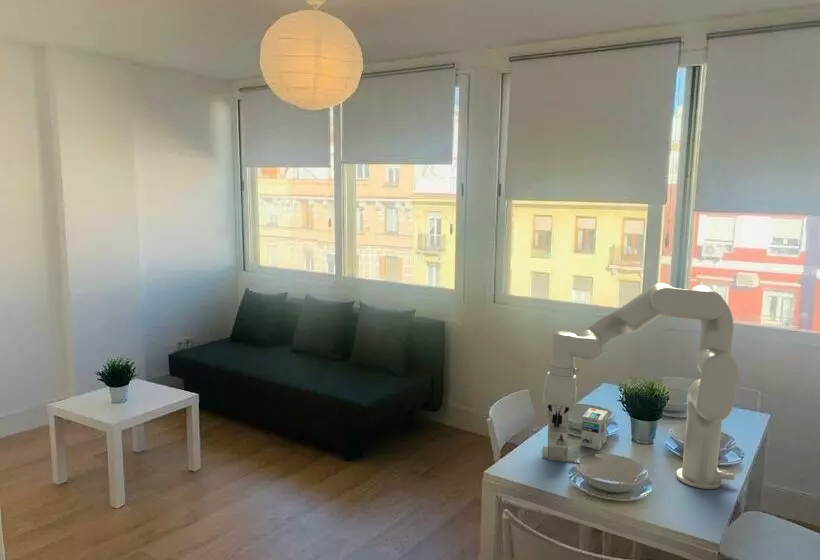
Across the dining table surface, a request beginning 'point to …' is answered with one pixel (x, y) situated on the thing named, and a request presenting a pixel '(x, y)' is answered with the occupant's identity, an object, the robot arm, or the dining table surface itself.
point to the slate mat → (572, 455)
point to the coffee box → (558, 438)
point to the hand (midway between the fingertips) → (556, 425)
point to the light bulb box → (594, 428)
